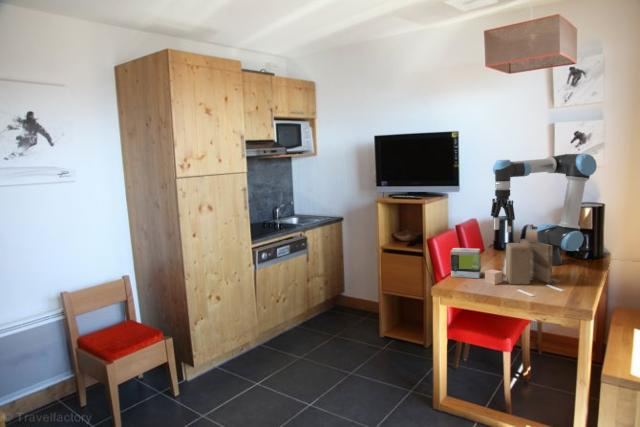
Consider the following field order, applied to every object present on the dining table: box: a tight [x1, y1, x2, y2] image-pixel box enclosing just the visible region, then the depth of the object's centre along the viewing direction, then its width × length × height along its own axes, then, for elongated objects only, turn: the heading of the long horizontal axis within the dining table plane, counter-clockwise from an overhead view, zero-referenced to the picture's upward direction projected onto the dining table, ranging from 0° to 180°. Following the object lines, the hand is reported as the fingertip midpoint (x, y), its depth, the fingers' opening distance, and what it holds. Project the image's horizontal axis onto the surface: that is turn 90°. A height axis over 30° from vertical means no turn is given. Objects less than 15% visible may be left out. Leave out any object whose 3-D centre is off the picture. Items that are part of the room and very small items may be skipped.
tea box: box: [450, 247, 482, 279], centre depth 249 cm, size 15×10×15 cm
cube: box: [484, 269, 503, 285], centre depth 235 cm, size 6×6×6 cm
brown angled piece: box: [519, 238, 561, 285], centre depth 236 cm, size 8×20×20 cm, turn 17°
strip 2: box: [545, 284, 565, 292], centre depth 221 cm, size 2×10×1 cm, turn 17°
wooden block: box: [505, 242, 531, 286], centre depth 232 cm, size 10×10×20 cm
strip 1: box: [516, 288, 535, 297], centre depth 216 cm, size 2×10×1 cm, turn 17°
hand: (502, 230), depth 241 cm, fingers open, 9 cm apart
